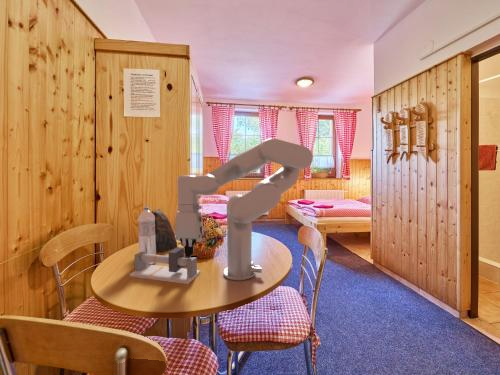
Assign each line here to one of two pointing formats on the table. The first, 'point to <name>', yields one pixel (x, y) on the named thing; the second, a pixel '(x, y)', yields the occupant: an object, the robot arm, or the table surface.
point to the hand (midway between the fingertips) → (189, 255)
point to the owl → (163, 232)
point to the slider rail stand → (164, 268)
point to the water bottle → (147, 233)
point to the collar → (175, 259)
